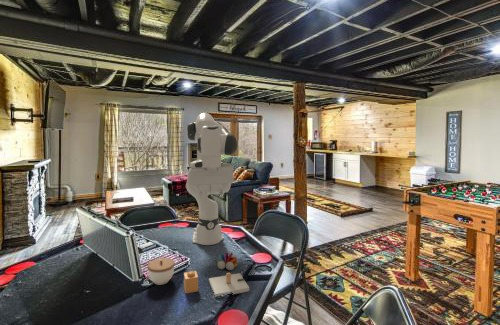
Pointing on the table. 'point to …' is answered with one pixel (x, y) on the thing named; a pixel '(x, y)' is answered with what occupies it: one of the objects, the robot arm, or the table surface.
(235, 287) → the plate
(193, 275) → the orange cube with dome
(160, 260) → the lidded jar
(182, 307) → the table surface
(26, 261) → the table surface
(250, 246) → the table surface
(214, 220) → the robot arm
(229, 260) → the rainbow segmented toy
